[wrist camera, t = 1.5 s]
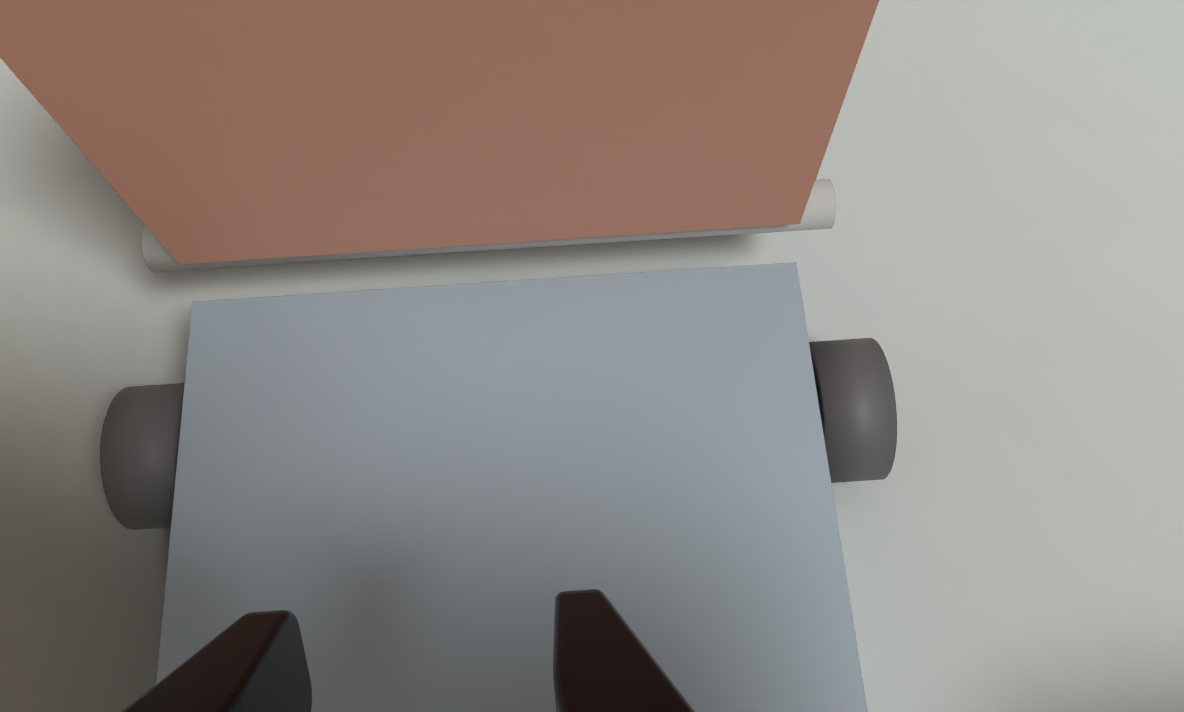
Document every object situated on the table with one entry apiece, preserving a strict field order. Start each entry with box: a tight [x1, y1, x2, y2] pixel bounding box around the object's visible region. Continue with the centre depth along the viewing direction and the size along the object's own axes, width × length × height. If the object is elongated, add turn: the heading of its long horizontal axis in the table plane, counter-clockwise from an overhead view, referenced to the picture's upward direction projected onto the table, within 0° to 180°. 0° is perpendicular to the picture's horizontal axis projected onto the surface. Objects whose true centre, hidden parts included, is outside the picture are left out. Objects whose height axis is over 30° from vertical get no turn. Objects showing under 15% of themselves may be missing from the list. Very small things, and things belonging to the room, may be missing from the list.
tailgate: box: [0, 0, 879, 272], centre depth 14 cm, size 1×12×9 cm, turn 93°
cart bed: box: [100, 262, 897, 712], centre depth 17 cm, size 14×14×3 cm
